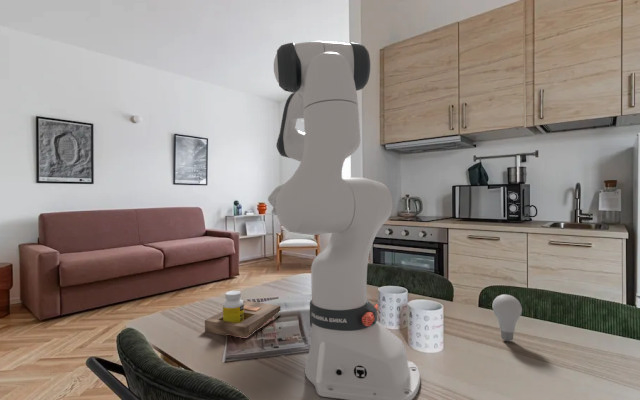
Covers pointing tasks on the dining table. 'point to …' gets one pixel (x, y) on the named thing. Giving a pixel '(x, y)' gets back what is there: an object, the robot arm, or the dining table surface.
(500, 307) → the lightbulb
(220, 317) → the block
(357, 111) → the robot arm
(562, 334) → the dining table surface
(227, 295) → the supplement bottle
